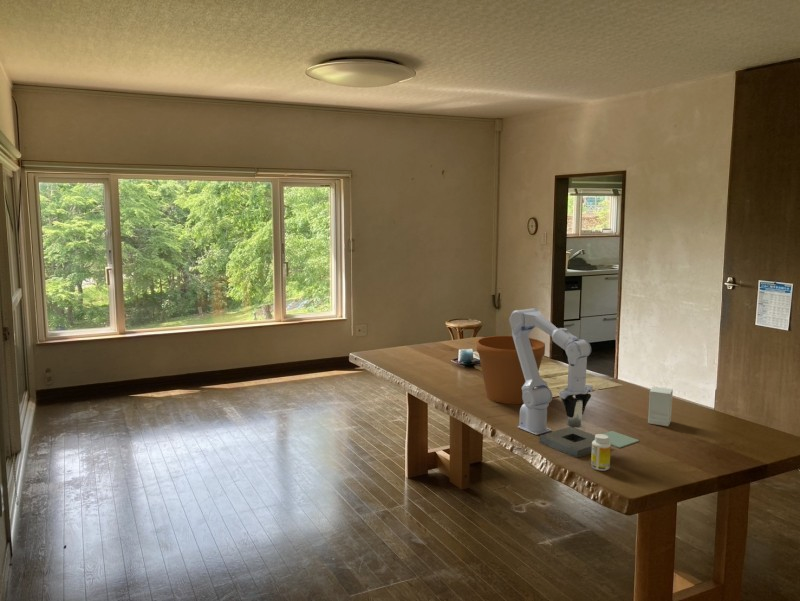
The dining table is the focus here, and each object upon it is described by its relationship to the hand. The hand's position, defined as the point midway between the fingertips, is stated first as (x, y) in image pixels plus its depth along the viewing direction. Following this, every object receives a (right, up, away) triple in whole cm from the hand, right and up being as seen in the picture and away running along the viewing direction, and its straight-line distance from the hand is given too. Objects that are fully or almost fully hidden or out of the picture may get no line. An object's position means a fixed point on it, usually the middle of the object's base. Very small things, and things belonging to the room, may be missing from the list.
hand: (574, 415), depth 210 cm
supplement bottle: (+3, -13, -17) cm, 22 cm away
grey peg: (0, -3, +1) cm, 3 cm away
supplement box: (+39, -7, +25) cm, 46 cm away
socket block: (0, -10, +2) cm, 10 cm away
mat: (+16, -10, +7) cm, 20 cm away
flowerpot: (-13, -2, +54) cm, 56 cm away
